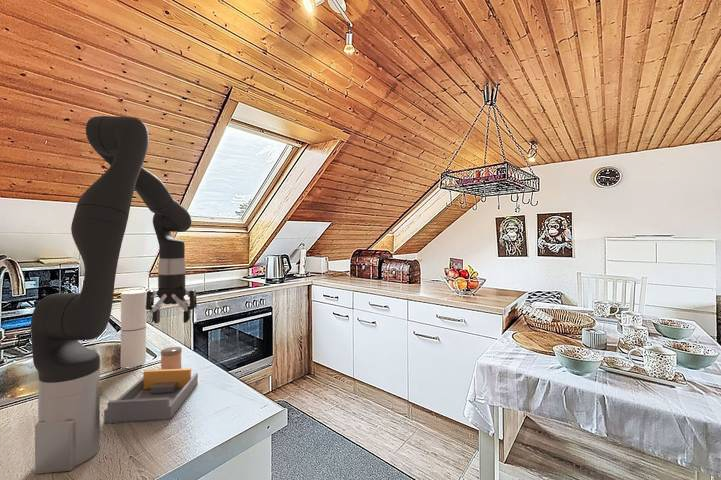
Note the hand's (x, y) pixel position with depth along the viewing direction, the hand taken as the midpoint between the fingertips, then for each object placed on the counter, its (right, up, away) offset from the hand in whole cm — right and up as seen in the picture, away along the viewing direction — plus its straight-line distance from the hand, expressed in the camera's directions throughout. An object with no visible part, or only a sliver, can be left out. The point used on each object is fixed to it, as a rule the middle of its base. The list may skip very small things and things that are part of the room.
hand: (171, 322), depth 103 cm
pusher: (+4, -17, -11) cm, 20 cm away
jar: (0, -17, 0) cm, 17 cm away
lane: (+5, -17, -17) cm, 25 cm away
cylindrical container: (-18, -17, +8) cm, 25 cm away
